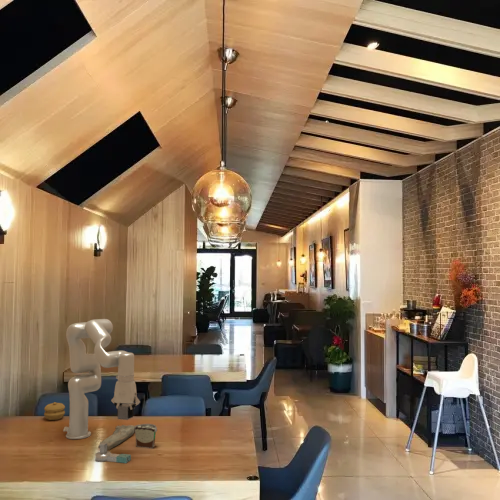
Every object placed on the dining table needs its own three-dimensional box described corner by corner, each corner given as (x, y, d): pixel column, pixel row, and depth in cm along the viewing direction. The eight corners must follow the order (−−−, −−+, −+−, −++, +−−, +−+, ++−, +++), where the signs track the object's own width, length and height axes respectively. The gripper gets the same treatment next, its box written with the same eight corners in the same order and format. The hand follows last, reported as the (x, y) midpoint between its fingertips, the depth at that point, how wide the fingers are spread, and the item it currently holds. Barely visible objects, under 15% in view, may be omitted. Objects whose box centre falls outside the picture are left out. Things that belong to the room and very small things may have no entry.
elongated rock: (92, 453, 247) (112, 455, 245) (93, 442, 247) (112, 444, 245) (123, 428, 281) (140, 430, 280) (123, 419, 281) (140, 421, 280)
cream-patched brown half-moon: (161, 445, 254) (161, 424, 255) (155, 448, 248) (155, 428, 249) (140, 442, 258) (140, 422, 259) (133, 446, 252) (133, 425, 253)
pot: (49, 416, 309) (50, 399, 310) (68, 416, 308) (68, 400, 309) (40, 421, 297) (40, 404, 298) (59, 422, 296) (59, 404, 297)
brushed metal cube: (117, 419, 241) (117, 406, 242) (123, 416, 246) (123, 403, 247) (127, 419, 240) (127, 407, 240) (132, 417, 245) (133, 404, 245)
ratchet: (92, 461, 232) (92, 445, 232) (100, 455, 238) (100, 440, 239) (124, 464, 227) (124, 448, 228) (132, 459, 234) (132, 443, 235)
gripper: (106, 379, 243) (105, 417, 242) (138, 381, 238) (137, 420, 237) (114, 376, 250) (113, 413, 249) (145, 378, 246) (145, 416, 244)
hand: (125, 416), depth 243 cm, fingers closed on brushed metal cube, 5 cm apart
